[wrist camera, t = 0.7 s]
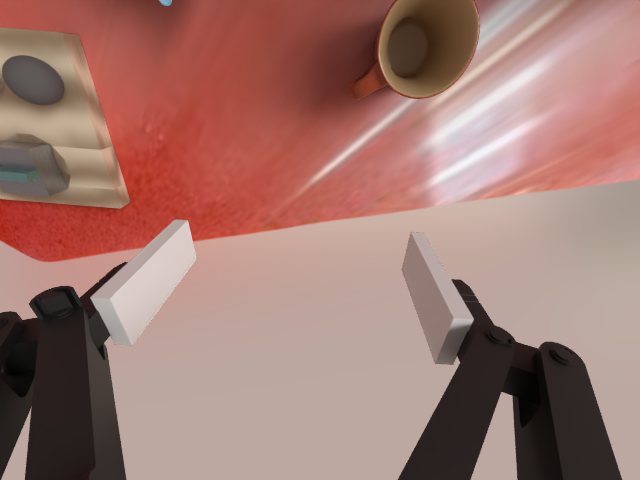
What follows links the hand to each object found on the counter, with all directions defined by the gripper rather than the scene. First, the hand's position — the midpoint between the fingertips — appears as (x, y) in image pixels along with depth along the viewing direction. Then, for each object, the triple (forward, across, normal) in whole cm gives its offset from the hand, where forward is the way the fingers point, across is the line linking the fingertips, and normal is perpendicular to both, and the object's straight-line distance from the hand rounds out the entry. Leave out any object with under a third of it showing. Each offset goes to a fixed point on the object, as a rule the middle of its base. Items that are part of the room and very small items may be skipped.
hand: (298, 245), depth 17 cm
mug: (+27, +8, +11) cm, 30 cm away
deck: (+26, -40, +1) cm, 48 cm away
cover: (+24, -40, -4) cm, 47 cm away
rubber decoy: (+21, -33, +7) cm, 40 cm away
